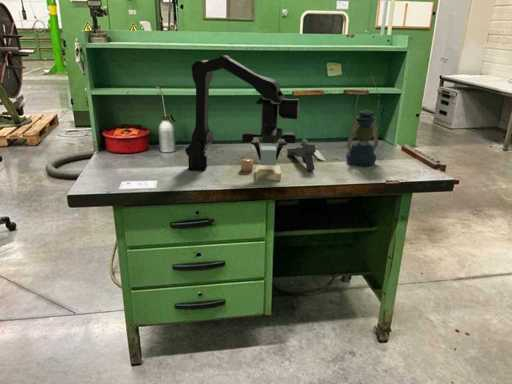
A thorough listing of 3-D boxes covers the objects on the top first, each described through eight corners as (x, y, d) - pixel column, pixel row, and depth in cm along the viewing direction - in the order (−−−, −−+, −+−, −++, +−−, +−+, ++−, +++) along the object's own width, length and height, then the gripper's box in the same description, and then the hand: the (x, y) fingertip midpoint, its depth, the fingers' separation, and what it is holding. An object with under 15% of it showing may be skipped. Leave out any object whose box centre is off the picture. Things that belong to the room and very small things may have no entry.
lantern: (354, 168, 164) (364, 76, 152) (337, 160, 175) (345, 73, 162) (384, 165, 169) (396, 75, 157) (366, 157, 180) (376, 72, 167)
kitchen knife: (330, 159, 174) (319, 156, 172) (328, 165, 174) (317, 162, 173) (310, 140, 200) (301, 137, 199) (308, 145, 201) (299, 142, 200)
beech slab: (255, 179, 151) (255, 173, 150) (255, 171, 159) (256, 165, 158) (280, 180, 151) (280, 173, 150) (279, 172, 159) (280, 165, 158)
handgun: (307, 172, 158) (306, 145, 157) (286, 169, 181) (285, 146, 180) (317, 171, 159) (315, 144, 158) (294, 169, 182) (293, 145, 181)
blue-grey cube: (260, 165, 150) (260, 150, 148) (260, 160, 156) (260, 146, 154) (275, 165, 150) (276, 150, 148) (275, 160, 155) (276, 146, 153)
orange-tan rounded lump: (240, 171, 159) (240, 161, 157) (241, 168, 163) (242, 158, 161) (251, 172, 158) (252, 162, 157) (253, 168, 162) (253, 158, 161)
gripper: (241, 121, 140) (241, 166, 145) (297, 122, 139) (295, 167, 145) (243, 115, 150) (242, 157, 156) (295, 116, 150) (293, 158, 155)
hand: (268, 160), depth 153 cm, fingers closed on blue-grey cube, 5 cm apart
